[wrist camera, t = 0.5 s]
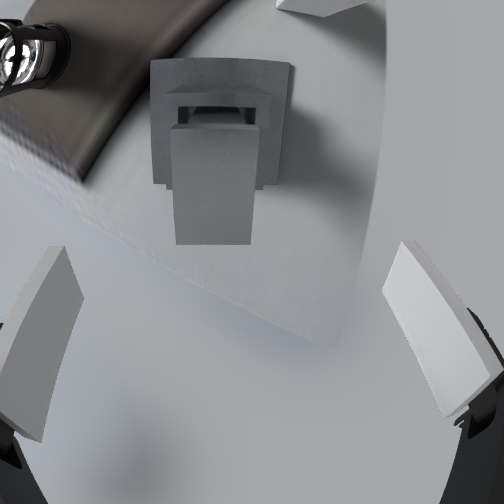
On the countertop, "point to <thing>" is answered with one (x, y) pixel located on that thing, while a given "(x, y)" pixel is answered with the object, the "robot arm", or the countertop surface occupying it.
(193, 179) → the column
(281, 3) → the milk
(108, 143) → the countertop surface
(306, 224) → the countertop surface
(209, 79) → the base
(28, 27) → the french press
